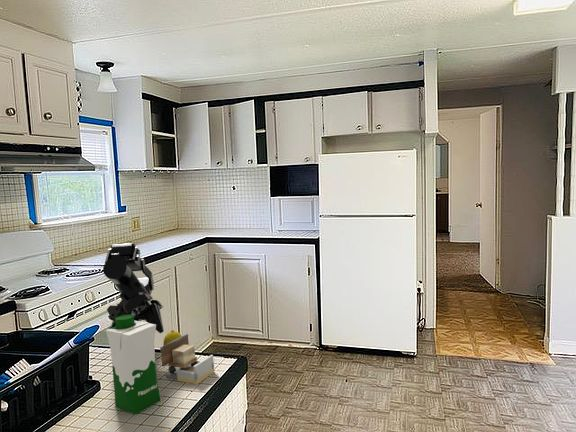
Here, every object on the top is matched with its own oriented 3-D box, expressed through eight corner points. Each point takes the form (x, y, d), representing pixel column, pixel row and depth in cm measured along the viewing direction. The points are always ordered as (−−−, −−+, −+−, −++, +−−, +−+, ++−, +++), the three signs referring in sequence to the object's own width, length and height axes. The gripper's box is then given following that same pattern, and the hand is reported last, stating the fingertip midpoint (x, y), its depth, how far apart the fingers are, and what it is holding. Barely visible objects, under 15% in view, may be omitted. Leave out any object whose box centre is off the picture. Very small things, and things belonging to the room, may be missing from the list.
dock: (165, 378, 115) (163, 361, 114) (184, 366, 121) (182, 350, 121) (196, 384, 110) (195, 366, 110) (214, 371, 117) (213, 355, 116)
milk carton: (140, 391, 108) (133, 310, 106) (167, 399, 103) (160, 314, 101) (109, 408, 100) (100, 321, 99) (136, 418, 96) (127, 326, 94)
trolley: (162, 376, 113) (159, 347, 112) (187, 361, 122) (185, 333, 121) (178, 379, 111) (176, 349, 110) (203, 363, 120) (201, 335, 119)
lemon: (181, 361, 125) (179, 333, 125) (162, 361, 125) (159, 334, 125) (186, 353, 131) (184, 326, 130) (167, 354, 131) (165, 327, 130)
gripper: (114, 308, 129) (144, 353, 126) (90, 300, 111) (125, 351, 108) (147, 284, 131) (178, 327, 128) (129, 272, 114) (164, 321, 110)
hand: (161, 332), depth 119 cm, fingers closed
